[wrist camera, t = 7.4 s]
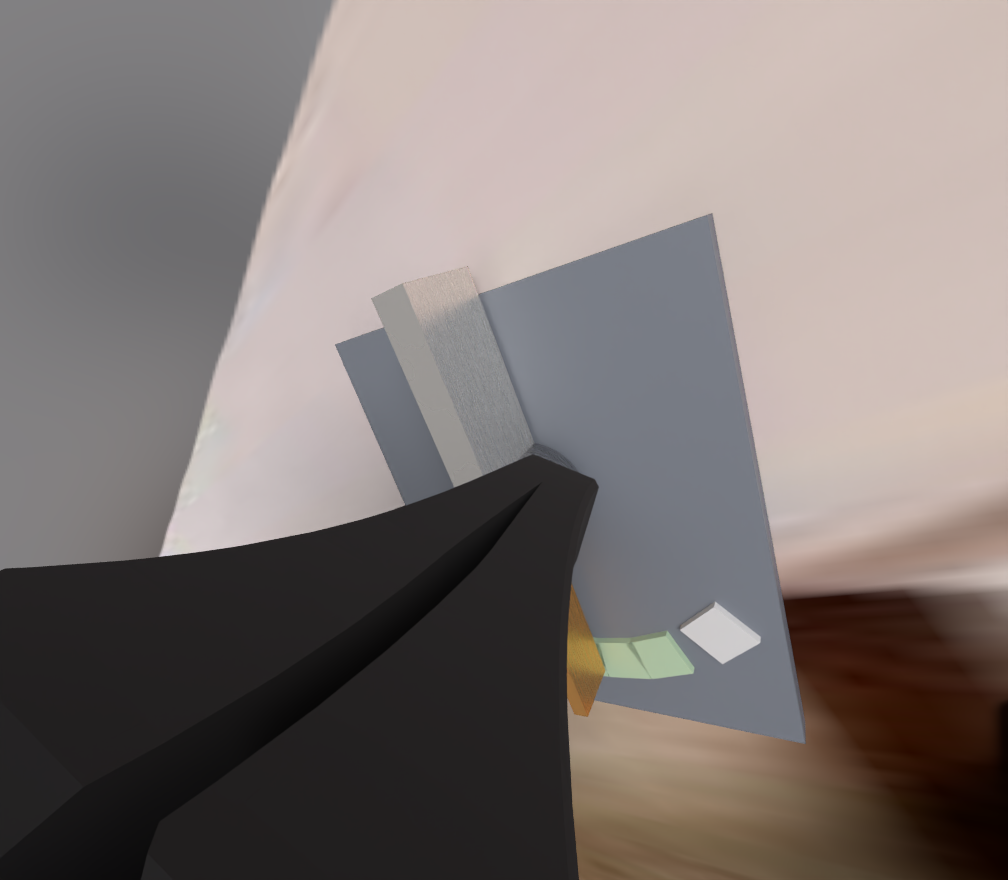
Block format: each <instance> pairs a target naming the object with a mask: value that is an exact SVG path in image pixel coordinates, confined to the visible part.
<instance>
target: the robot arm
mask: <svg viewBox="0 0 1008 880" xmlns="http://www.w3.org/2000/svg"><path fill="white" fill-rule="evenodd" d="M598 489H599V486H598V484H597V482H596V480H595V479H593V478H591V477H588V476H586V475H583V474H581V473H578V472H576V471H574V470H571V469H569V468H566V467H564V466H561V465H559V464H556V463H554V462H551V461H549V460H546V459H544V458H542V457H539V456H537V455H534V454H532V455H530V456H527V457H525V458H522V459H520V460H518V461H515V462H513V463H511V464H508V465H506V466H504V467H502V468H499V469H497V470H495V471H492V472H490V473H488V474H485V475H483V476H481V477H479V478H476V479H474V480H471V481H469V482H467V483H464V484H462V485H459V486H457V487H454V488H452V489H449V490H447V491H445V492H442V493H439V494H437V495H434V496H431V497H428V498H425V499H423V500H420V501H417V502H414V503H411V504H408V505H406V506H403V507H400V508H397V509H394V510H392V511H388V512H385V513H382V514H379V515H375V516H372V517H369V518H365V519H362V520H358V521H354V522H350V523H347V524H343V525H339V526H335V527H331V528H327V529H323V530H319V531H315V532H310V533H305V534H300V535H295V536H290V537H284V538H279V539H274V540H269V541H264V542H259V543H254V544H249V545H243V546H237V547H231V548H224V549H217V550H210V551H203V552H196V553H188V554H180V555H172V556H163V557H155V558H146V559H136V560H126V561H115V562H114V561H113V562H100V563H87V564H72V565H58V566H45V567H29V568H9V569H3V570H1V571H0V880H579V875H578V864H577V853H576V841H575V830H574V819H573V807H572V791H571V772H570V753H569V735H568V716H567V640H568V619H569V605H570V594H571V583H572V574H573V567H574V565H575V563H576V561H577V558H578V555H579V551H580V548H581V545H582V541H583V538H584V535H585V532H586V528H587V525H588V522H589V518H590V515H591V512H592V508H593V505H594V502H595V499H596V495H597V492H598Z"/></svg>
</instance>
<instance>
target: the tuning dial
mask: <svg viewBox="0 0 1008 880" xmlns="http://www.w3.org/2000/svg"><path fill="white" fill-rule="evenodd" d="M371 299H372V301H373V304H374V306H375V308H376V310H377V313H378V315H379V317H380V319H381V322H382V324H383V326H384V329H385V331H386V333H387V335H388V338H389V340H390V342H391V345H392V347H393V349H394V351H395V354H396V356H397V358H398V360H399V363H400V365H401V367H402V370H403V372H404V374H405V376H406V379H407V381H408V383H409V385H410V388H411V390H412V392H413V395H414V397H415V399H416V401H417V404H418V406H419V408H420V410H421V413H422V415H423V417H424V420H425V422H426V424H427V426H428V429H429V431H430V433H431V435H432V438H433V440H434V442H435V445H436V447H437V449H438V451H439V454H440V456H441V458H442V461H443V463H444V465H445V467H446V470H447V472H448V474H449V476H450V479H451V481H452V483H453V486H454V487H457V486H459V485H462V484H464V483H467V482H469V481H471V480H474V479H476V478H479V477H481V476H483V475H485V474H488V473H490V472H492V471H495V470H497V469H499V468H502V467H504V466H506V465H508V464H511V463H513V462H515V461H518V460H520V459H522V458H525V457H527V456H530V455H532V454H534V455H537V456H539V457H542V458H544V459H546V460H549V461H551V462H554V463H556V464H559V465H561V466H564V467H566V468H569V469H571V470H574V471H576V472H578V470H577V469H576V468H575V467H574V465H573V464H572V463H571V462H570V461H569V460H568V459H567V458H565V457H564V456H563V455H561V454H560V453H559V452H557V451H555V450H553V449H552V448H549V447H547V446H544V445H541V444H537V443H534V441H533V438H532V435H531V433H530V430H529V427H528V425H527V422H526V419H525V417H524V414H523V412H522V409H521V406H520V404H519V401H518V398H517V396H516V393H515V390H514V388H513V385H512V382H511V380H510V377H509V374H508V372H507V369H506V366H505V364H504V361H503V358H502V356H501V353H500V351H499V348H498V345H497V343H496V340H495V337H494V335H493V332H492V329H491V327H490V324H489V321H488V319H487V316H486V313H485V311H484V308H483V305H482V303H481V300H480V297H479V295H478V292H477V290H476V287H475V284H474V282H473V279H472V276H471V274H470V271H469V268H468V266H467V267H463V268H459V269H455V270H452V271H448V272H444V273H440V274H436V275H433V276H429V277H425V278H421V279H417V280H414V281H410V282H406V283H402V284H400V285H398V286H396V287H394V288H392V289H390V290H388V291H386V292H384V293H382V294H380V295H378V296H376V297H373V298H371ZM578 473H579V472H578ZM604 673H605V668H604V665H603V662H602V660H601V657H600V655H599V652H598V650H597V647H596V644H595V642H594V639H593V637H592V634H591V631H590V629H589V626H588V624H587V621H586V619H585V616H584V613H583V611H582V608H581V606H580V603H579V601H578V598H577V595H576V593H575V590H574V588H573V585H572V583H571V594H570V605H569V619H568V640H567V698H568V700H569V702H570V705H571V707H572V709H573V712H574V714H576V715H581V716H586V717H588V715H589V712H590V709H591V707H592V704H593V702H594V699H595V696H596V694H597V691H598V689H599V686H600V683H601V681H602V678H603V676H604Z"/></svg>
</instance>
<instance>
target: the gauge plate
mask: <svg viewBox="0 0 1008 880" xmlns="http://www.w3.org/2000/svg"><path fill="white" fill-rule="evenodd" d="M479 297H480V300H481V303H482V305H483V308H484V311H485V313H486V316H487V319H488V321H489V324H490V327H491V329H492V332H493V335H494V337H495V340H496V343H497V345H498V348H499V351H500V353H501V356H502V358H503V361H504V364H505V366H506V369H507V372H508V374H509V377H510V380H511V382H512V385H513V388H514V390H515V393H516V396H517V398H518V401H519V404H520V406H521V409H522V412H523V414H524V417H525V419H526V422H527V425H528V427H529V430H530V433H531V435H532V438H533V441H534V443H537V444H541V445H544V446H547V447H549V448H552V449H553V450H555V451H557V452H559V453H560V454H561V455H563V456H564V457H565V458H567V459H568V460H569V461H570V462H571V463H572V464H573V465H574V467H575V468H576V469H577V470H578V472H579V473H581V474H583V475H586V476H588V477H591V478H593V479H595V480H596V482H597V484H598V486H599V489H598V492H597V495H596V499H595V502H594V505H593V508H592V512H591V515H590V518H589V522H588V525H587V528H586V532H585V535H584V538H583V541H582V545H581V548H580V551H579V555H578V558H577V561H576V563H575V565H574V567H573V574H572V585H573V588H574V590H575V593H576V595H577V598H578V601H579V603H580V606H581V608H582V611H583V613H584V616H585V619H586V621H587V624H588V626H589V629H590V631H591V634H592V637H593V639H594V642H595V644H596V647H597V650H598V652H599V655H600V657H601V660H602V662H603V665H604V668H605V673H604V676H603V678H602V681H601V683H600V686H599V689H598V691H597V694H596V696H595V699H594V700H596V701H600V702H605V703H610V704H615V705H620V706H625V707H630V708H634V709H639V710H644V711H649V712H654V713H659V714H663V715H668V716H673V717H678V718H683V719H688V720H692V721H697V722H702V723H707V724H712V725H717V726H721V727H726V728H731V729H736V730H741V731H746V732H750V733H755V734H760V735H765V736H770V737H775V738H779V739H784V740H789V741H794V742H799V743H804V744H806V742H805V718H804V713H803V707H802V702H801V696H800V691H799V686H798V680H797V675H796V669H795V664H794V658H793V653H792V647H791V642H790V636H789V631H788V625H787V620H786V614H785V609H784V603H783V598H782V593H781V587H780V582H779V576H778V571H777V565H776V560H775V554H774V549H773V543H772V538H771V532H770V527H769V521H768V516H767V510H766V505H765V499H764V494H763V489H762V483H761V478H760V472H759V467H758V461H757V456H756V450H755V445H754V439H753V434H752V428H751V423H750V417H749V412H748V406H747V401H746V395H745V390H744V385H743V379H742V374H741V368H740V363H739V357H738V352H737V346H736V341H735V335H734V330H733V324H732V319H731V313H730V308H729V302H728V297H727V291H726V286H725V281H724V275H723V270H722V264H721V259H720V253H719V248H718V242H717V237H716V231H715V226H714V220H713V215H712V213H711V214H708V215H706V216H703V217H700V218H697V219H694V220H691V221H688V222H685V223H683V224H680V225H677V226H674V227H671V228H668V229H665V230H662V231H660V232H657V233H654V234H651V235H648V236H645V237H642V238H639V239H637V240H634V241H631V242H628V243H625V244H622V245H619V246H617V247H614V248H611V249H608V250H605V251H602V252H599V253H596V254H594V255H591V256H588V257H585V258H582V259H579V260H576V261H573V262H571V263H568V264H565V265H562V266H559V267H556V268H553V269H550V270H548V271H545V272H542V273H539V274H536V275H533V276H530V277H527V278H525V279H522V280H519V281H516V282H513V283H510V284H507V285H505V286H502V287H499V288H496V289H493V290H490V291H487V292H484V293H482V294H479ZM335 346H336V348H337V350H338V353H339V355H340V357H341V359H342V362H343V364H344V366H345V369H346V371H347V373H348V375H349V378H350V380H351V382H352V384H353V387H354V389H355V391H356V394H357V396H358V398H359V400H360V403H361V405H362V407H363V409H364V412H365V414H366V416H367V419H368V421H369V423H370V425H371V428H372V430H373V432H374V435H375V437H376V439H377V441H378V444H379V446H380V448H381V450H382V453H383V455H384V457H385V460H386V462H387V464H388V466H389V469H390V471H391V473H392V476H393V478H394V480H395V482H396V485H397V487H398V489H399V491H400V494H401V496H402V498H403V501H404V503H405V505H408V504H411V503H414V502H417V501H420V500H423V499H425V498H428V497H431V496H434V495H437V494H439V493H442V492H445V491H447V490H449V489H452V488H454V486H453V483H452V481H451V479H450V476H449V474H448V472H447V470H446V467H445V465H444V463H443V461H442V458H441V456H440V454H439V451H438V449H437V447H436V445H435V442H434V440H433V438H432V435H431V433H430V431H429V429H428V426H427V424H426V422H425V420H424V417H423V415H422V413H421V410H420V408H419V406H418V404H417V401H416V399H415V397H414V395H413V392H412V390H411V388H410V385H409V383H408V381H407V379H406V376H405V374H404V372H403V370H402V367H401V365H400V363H399V360H398V358H397V356H396V354H395V351H394V349H393V347H392V345H391V342H390V340H389V338H388V335H387V333H386V331H385V329H384V328H381V329H378V330H375V331H372V332H370V333H367V334H364V335H361V336H358V337H355V338H352V339H349V340H347V341H344V342H341V343H338V344H335Z"/></svg>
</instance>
